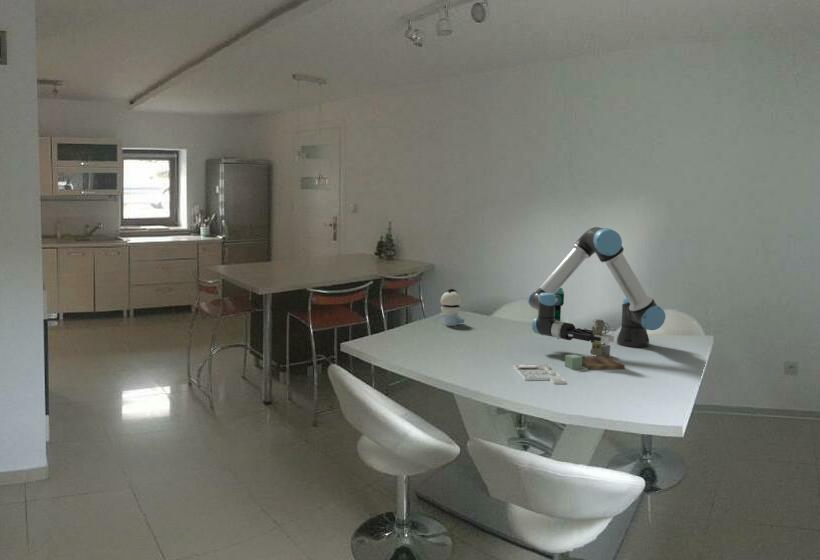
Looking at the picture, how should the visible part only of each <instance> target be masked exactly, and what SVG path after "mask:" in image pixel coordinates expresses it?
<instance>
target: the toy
mask: <svg viewBox="0 0 820 560" xmlns="http://www.w3.org/2000/svg"><path fill="white" fill-rule="evenodd" d="M439 303H440V304H441V305H442V306H441V307H440V310H441V313H439V316H440V317H443V326H448V327H455V326H457V325H458V324H464V323H465V318H464V317H461V316H459V315H458V314H459V313H460V311H461V305H460V304H462V298H461V296H460V294H459V292H458V291H457V290H456V289H454V288H449V289H447V290H446V291H445V292H444V293H443V294H442V296H441V298H440V301H439Z"/></svg>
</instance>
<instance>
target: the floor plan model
mask: <svg viewBox="0 0 820 560" xmlns="http://www.w3.org/2000/svg"><path fill="white" fill-rule="evenodd" d="M512 368H513V369H514V370H515V371H516V372H517V373H518V374H519V375H520V377H522V378H523V380H524V381H550V382H551V383H552V384H553V385H560V384H561V385H562V384H563V385H566V384H567V380H566V379H564V377H563V376H561V375H560V374H559V373H558V372H557V371H551V369H552V365H550V364H549V363H545V364H544V363H542V364H541V363H539V364H538V363H537V364H536V363H535V364H534V363H533V364H530V363H529V364H525V363H524V364H521V363H520V364H513V366H512ZM523 369H526V370H523ZM527 369H528V370H527ZM530 369H532V370H530ZM534 369H535V370H534ZM532 372H534V374H532ZM538 372H539V373H538ZM535 374H537V375H536V376H535ZM541 374H544V376H541ZM547 374H549V375H547Z"/></svg>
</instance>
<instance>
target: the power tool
mask: <svg viewBox="0 0 820 560" xmlns="http://www.w3.org/2000/svg"><path fill="white" fill-rule="evenodd" d="M555 296H556V303H555V319H554V320H555V321H560V322H562V321H561V311H562V310H561V308H562V307H563V305H564V303H565V302H564V300H565V292H564V289H563V288H562V287H560V289H559V290H558V291H557V292H556V293H555Z"/></svg>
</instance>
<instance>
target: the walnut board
mask: <svg viewBox="0 0 820 560" xmlns="http://www.w3.org/2000/svg"><path fill="white" fill-rule="evenodd" d="M581 357H582V367H584V368H585V369H587V370H589V371H590V370H623V369H624V370H625V364H623V363H622V362H621V361H618V360H616V359H615V358H613V357H611V355H610V356H596V355H593V356H592V355H589V356H587V355H586V356H581Z"/></svg>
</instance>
